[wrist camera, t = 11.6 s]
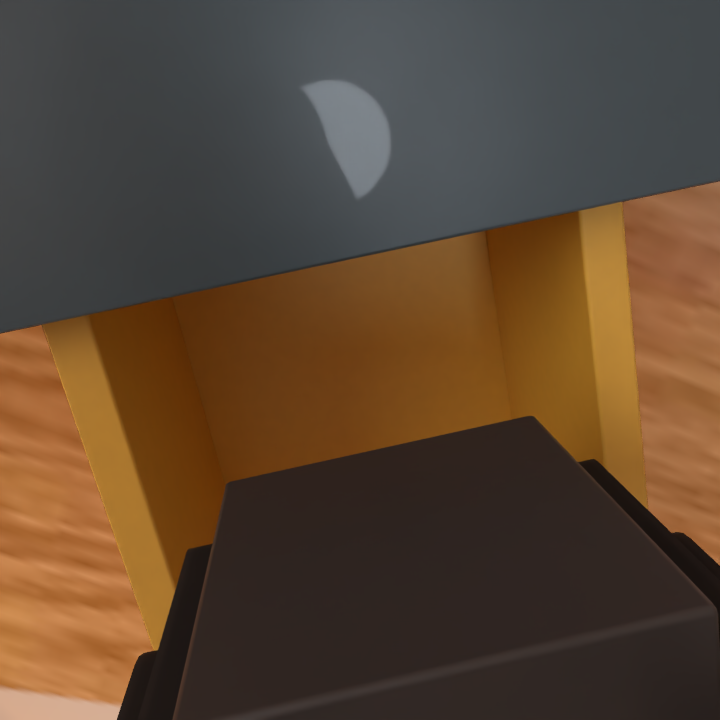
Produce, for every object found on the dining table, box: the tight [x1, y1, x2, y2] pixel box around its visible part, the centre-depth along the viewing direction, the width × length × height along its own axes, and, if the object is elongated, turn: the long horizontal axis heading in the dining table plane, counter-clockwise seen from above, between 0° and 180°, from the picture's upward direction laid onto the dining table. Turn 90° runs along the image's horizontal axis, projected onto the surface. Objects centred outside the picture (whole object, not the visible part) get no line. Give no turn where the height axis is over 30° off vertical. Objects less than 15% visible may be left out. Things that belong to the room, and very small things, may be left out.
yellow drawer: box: [42, 202, 648, 651], centre depth 16 cm, size 18×11×8 cm, turn 11°
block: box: [173, 416, 720, 720], centre depth 8 cm, size 4×4×4 cm
